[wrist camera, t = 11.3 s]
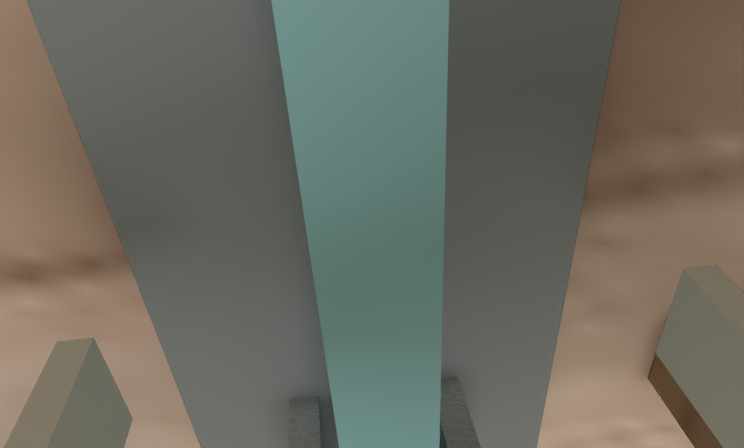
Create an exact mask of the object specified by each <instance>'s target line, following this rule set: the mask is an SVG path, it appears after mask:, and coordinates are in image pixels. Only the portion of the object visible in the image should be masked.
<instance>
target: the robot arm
mask: <svg viewBox="0 0 744 448" xmlns="http://www.w3.org/2000/svg"><path fill="white" fill-rule="evenodd" d="M655 353H656V354H657V356H658V357H659V358H660V360H661V361H662V363H663V364H664V365H665V367H666V368H667V370H668V371H669V372H670V374H671V375H672V377H673V378H674V380H675V381H676V382H677V384H678V385H679V387H680V388H681V389H682V391H683V392H684V394H685V395H686V396H687V398H688V399H689V401H690V402H691V403H692V405H693V406H694V408H695V409H696V410H697V412H698V413H699V415H700V416H701V417H702V419H703V420H704V422H705V423H706V424H707V426H708V427H709V429H710V430H711V431H712V433H713V434H714V436H715V437H716V439H717V440H718V441H719V443H720V444H721V446H722V447H723V448H744V292H743V291H742V290H741V289H740V288H739V287H738V286H737V285H736V284H735V283H734V282H733V281H732V280H731V279H730V278H729V277H728V276H727V275H726V274H725V273H724V272H723V271H722V270H721V269H720V268H719V267H718V266H717V265H710V266H701V267H693V268H684V269H683V272H682V275H681V278H680V281H679V284H678V287H677V290H676V293H675V296H674V299H673V302H672V305H671V308H670V311H669V314H668V317H667V320H666V323H665V326H664V329H663V332H662V335H661V338H660V340H659V343H658V346H657V349H656V352H655ZM132 419H133V418H132V416H131V414H130V412H129V410H128V408H127V406H126V404H125V402H124V399H123V397H122V395H121V393H120V391H119V389H118V387H117V385H116V383H115V381H114V379H113V377H112V375H111V372H110V370H109V368H108V366H107V364H106V362H105V360H104V358H103V356H102V354H101V352H100V350H99V348H98V346H97V343H96V341H95V339H94V338H85V339H77V340H68V341H59V342H57V343H56V345H55V347H54V349H53V351H52V353H51V355H50V357H49V359H48V361H47V363H46V365H45V367H44V369H43V371H42V373H41V375H40V377H39V379H38V381H37V383H36V385H35V387H34V389H33V391H32V393H31V395H30V397H29V399H28V401H27V403H26V405H25V407H24V409H23V411H22V413H21V415H20V417H19V419H18V421H17V423H16V425H15V427H14V429H13V431H12V433H11V435H10V437H9V439H8V441H7V443H6V445H5V447H4V448H124V446H125V442H126V439H127V435H128V432H129V429H130V425H131V422H132Z"/></svg>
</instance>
